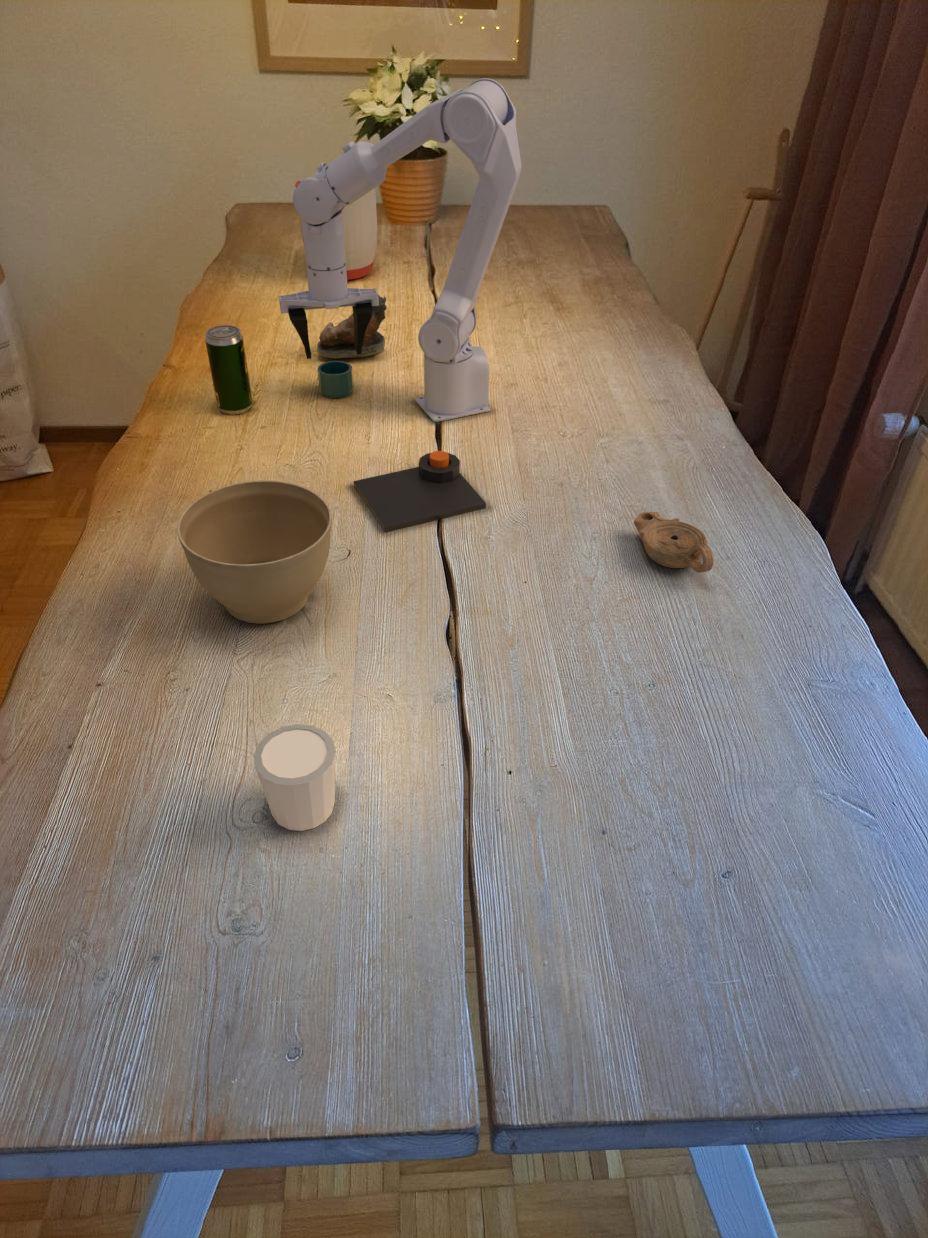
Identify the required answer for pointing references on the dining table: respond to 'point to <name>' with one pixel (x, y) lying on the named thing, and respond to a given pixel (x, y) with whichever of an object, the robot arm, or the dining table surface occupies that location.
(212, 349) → the beer can
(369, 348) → the bison figurine
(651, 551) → the oil lamp
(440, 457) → the button
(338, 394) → the teal cup
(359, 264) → the citrus juicer
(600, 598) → the dining table surface
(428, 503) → the scale
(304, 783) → the beige cylinder
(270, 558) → the planter bowl
